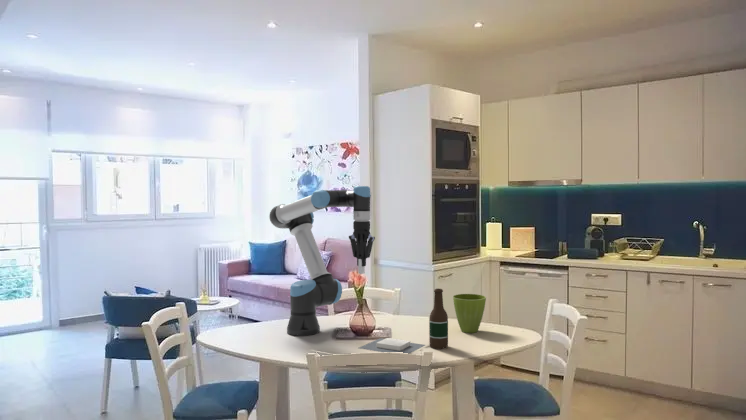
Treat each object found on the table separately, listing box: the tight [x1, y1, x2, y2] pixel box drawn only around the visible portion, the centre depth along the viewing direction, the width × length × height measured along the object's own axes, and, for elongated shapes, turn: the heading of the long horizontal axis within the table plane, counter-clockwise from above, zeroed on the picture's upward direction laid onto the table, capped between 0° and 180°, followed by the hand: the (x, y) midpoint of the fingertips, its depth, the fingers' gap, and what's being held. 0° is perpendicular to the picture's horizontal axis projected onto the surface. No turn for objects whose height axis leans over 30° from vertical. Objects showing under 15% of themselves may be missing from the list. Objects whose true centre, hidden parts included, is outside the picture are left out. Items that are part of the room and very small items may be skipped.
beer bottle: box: [428, 288, 449, 350], centre depth 228 cm, size 8×8×24 cm
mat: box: [358, 337, 426, 354], centre depth 227 cm, size 22×18×1 cm
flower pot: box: [452, 293, 487, 334], centre depth 254 cm, size 15×15×16 cm
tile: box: [376, 337, 411, 351], centre depth 227 cm, size 2×9×11 cm
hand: (361, 273), depth 247 cm, fingers closed
